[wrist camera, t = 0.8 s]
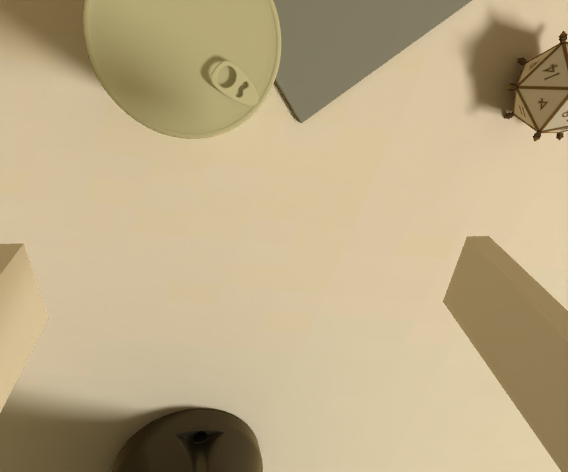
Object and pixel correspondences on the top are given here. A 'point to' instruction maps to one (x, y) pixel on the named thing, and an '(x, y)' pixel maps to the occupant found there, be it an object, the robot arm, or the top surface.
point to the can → (185, 60)
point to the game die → (543, 91)
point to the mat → (345, 43)
